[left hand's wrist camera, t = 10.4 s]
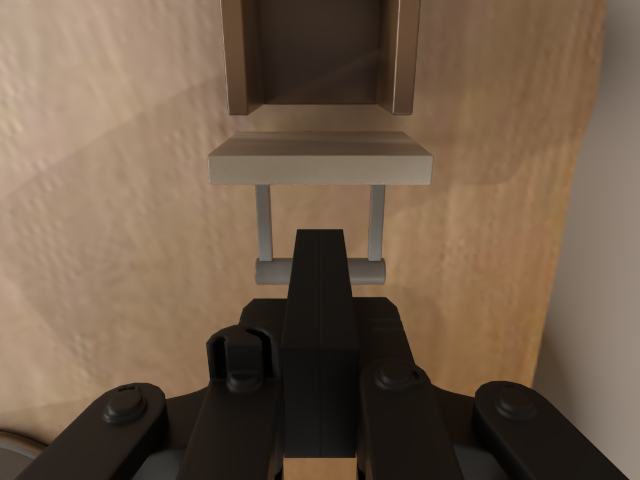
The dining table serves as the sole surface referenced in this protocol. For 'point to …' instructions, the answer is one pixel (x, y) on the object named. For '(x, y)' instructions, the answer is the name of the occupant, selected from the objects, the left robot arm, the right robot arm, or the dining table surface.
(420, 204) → the dining table surface
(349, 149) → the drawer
